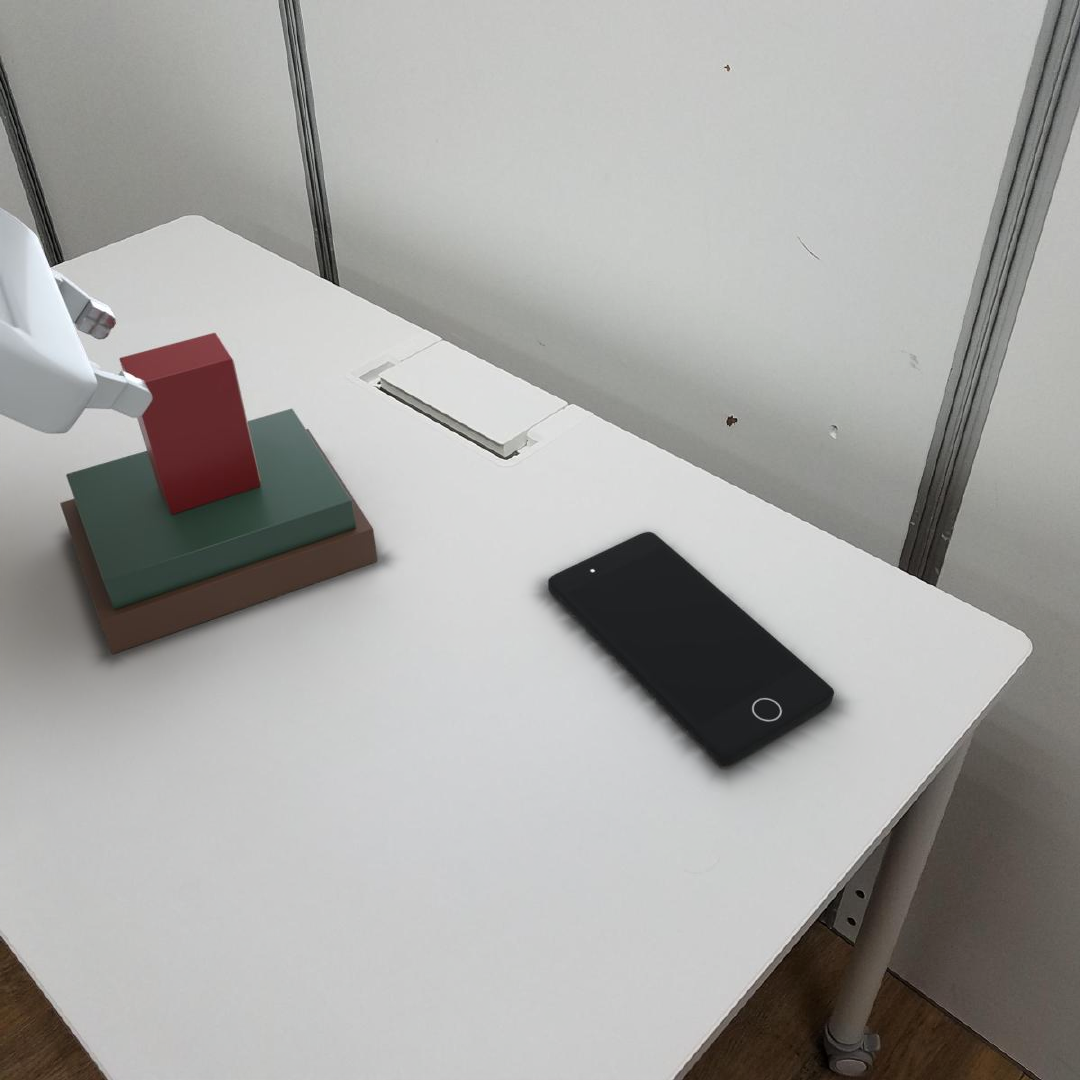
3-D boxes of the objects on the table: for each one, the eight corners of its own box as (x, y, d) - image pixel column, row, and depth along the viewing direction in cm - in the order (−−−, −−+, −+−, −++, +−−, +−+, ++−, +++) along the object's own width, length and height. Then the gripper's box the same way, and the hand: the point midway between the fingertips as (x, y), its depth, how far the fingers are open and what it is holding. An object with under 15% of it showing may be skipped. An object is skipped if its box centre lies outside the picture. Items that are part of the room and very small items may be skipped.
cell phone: (723, 770, 63) (725, 760, 62) (544, 588, 74) (544, 578, 74) (835, 702, 67) (838, 692, 66) (649, 538, 78) (649, 528, 77)
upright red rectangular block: (171, 515, 72) (132, 385, 65) (157, 485, 74) (118, 357, 68) (262, 486, 74) (234, 357, 68) (246, 458, 76) (217, 331, 70)
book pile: (112, 654, 70) (88, 592, 67) (72, 535, 79) (48, 474, 75) (378, 561, 77) (369, 499, 73) (313, 460, 85) (303, 400, 82)
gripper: (-69, 284, 48) (202, 408, 58) (-107, 126, 62) (117, 248, 72) (-139, 398, 50) (137, 500, 60) (-161, 219, 63) (66, 326, 73)
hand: (126, 361), depth 66 cm, fingers open, 8 cm apart
